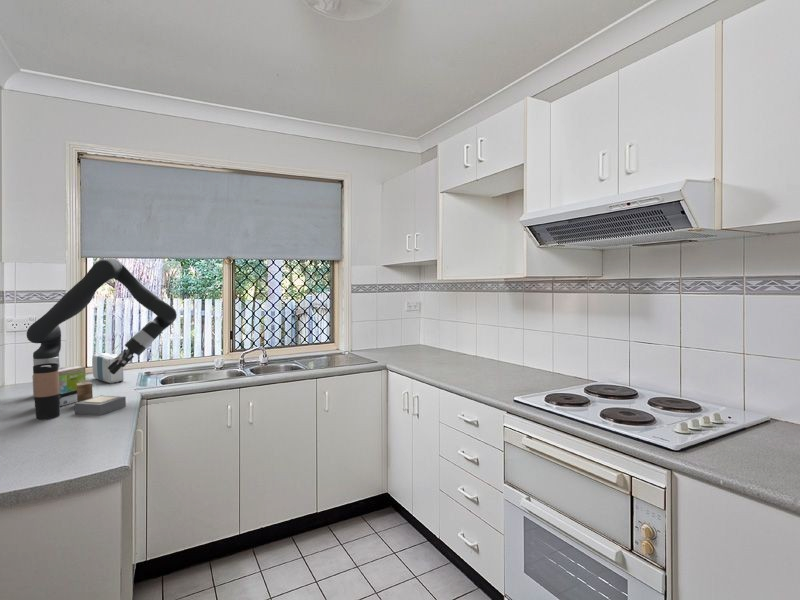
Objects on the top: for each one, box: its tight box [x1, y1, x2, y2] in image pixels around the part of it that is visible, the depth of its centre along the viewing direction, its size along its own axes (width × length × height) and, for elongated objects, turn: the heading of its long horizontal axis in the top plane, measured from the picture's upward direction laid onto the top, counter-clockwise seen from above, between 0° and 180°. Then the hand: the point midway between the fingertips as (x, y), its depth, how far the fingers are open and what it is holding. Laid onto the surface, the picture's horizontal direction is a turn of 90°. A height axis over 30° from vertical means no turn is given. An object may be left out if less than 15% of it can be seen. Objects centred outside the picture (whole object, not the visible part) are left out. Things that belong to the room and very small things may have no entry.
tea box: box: [58, 365, 87, 407], centre depth 190 cm, size 15×10×15 cm, turn 168°
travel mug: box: [32, 363, 61, 421], centre depth 171 cm, size 8×8×20 cm
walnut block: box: [77, 381, 94, 402], centre depth 187 cm, size 5×5×9 cm
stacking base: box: [74, 394, 127, 416], centre depth 180 cm, size 12×12×4 cm
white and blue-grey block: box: [91, 342, 125, 384], centre depth 232 cm, size 21×8×20 cm, turn 53°
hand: (110, 371), depth 193 cm, fingers open, 8 cm apart
